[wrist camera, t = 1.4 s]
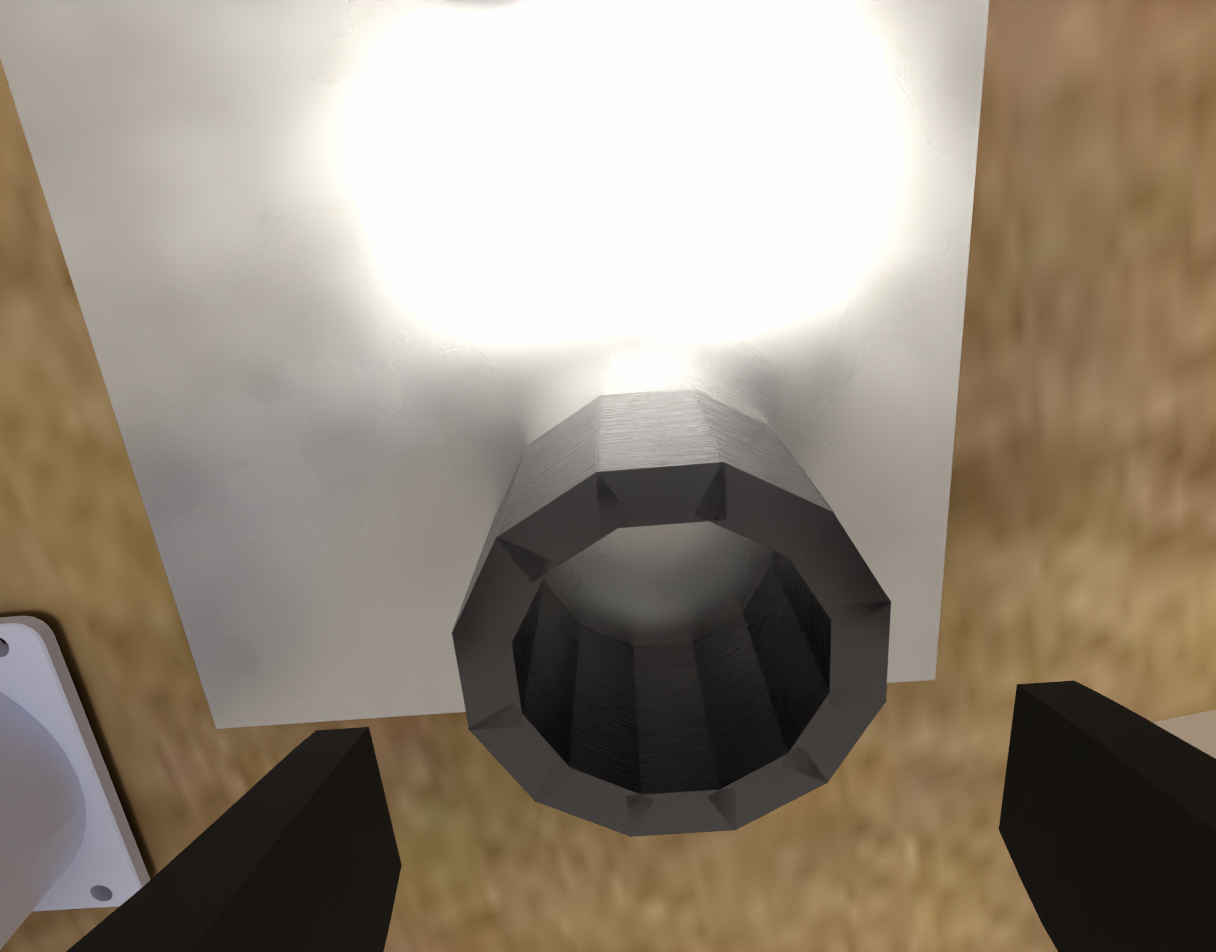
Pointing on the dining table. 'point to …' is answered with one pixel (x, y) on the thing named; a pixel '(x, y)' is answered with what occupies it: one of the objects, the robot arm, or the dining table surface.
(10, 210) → the dining table surface
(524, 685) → the iron ring
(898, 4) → the post stand
